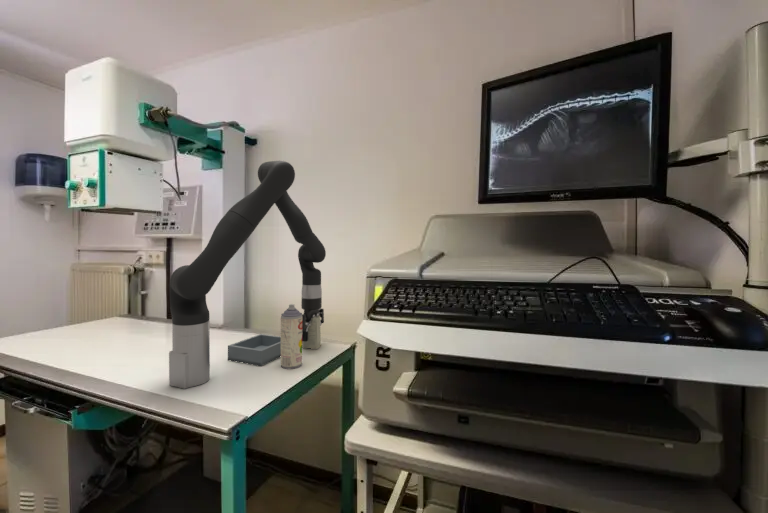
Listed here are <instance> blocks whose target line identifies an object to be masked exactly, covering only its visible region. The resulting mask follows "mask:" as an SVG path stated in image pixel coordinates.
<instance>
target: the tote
mask: <svg viewBox="0 0 768 513" xmlns="http://www.w3.org/2000/svg"><path fill="white" fill-rule="evenodd" d="M280 356H281V336H280V335H279V336H278V335H271V334H265V333H264V334H262V333H260V334H257V335H254V336H251V337H249V338H246V339H245V338H244V339H243V340H239V341H237V342H234V343H231V344H229V345H227V361H229V360H231V361H230V362H235V361H237V362H236V363H240V362H243V363H242V364H246V363H248V364H247V365H251V364H253V365H252V366H257V365H258V367H262V366H264V365H267V364H269V363H271V362H273V361H275V360H277V359H279V358H281V357H280ZM276 358H277V359H276Z"/></svg>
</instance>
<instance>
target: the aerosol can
mask: <svg viewBox="0 0 768 513" xmlns="http://www.w3.org/2000/svg"><path fill="white" fill-rule="evenodd" d="M302 314H303V313H302V312H300V311H299V309H297V308H296V307H295V304H293V303H290V304H289V305H288V308H286V310H284V312H283V313H281V314H280V315H281V316H280V337H281V357H280V368H281V369H284V370H285V369H286V370H293V369H298V368H301V367H302V366H303V349H302Z"/></svg>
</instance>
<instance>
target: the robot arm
mask: <svg viewBox="0 0 768 513" xmlns="http://www.w3.org/2000/svg"><path fill="white" fill-rule="evenodd" d="M257 177H258V178H257V179H258V181H259V183H260V184H259V185H258V186H257V187H256V188H255V189H254V190H253V191H251V193H248V194H247V195H246V196H245V197H243V198H242V199H240V200H239V201H238V202H236V203H235V204H234V205H233V206H231V207H230V208H229V210H228V211H227V212H226V213H225V214H224V215H223V217H222V218H221V219H220V220H219V222H218V223H217V225H216V226H215V228H214V230H213V232H212V235H211V236H210V239H209V241H208V243H207V245H206V246H205V247H204V249H203V251H201V253H200V254H198V256H197V257H196V258H195V259H194V260H193V261H192V262H191V263H190V264H189V265H187V264H186V265H182V266H180V267H177V268H176V269H175V270H174V271H173V272H172V273H171V276H170V278H169V310H170V315H171V323H172V328H171V329H172V331H171V332H172V346H171V347H172V350H170V351H169V353H168V374H169V376H168V382H169V383H168V384H169V386H172V387H175V388H181V389H183V390H184V389H188V388H192V387H196V386H200V385H203V384H205V383H207V382H209V380H210V374H211V373H210V372H211V370H210V369H211V366H210V364H211V362H210V359H211V358H210V357H211V356H210V352H211V351H210V350H211V349H210V348H211V347H210V344H211V343H210V342H211V340H210V338H211V337H210V327H211V326H210V311H209V308H208V304H207V295H208V294H209V292H210V291H211V290H212V288H213V286H215V283H216V282H217V280H218V279H219V277H220V275H221V273H222V272H223V270H224V269H225V267H226V266H227V264H228V263H229V261H231V259H232V258H233V257H234V256H235V255H236V254H237V252H238V251H239V250H240V249H241V248H242V246H243V245H244V243H245V242H246V241H247V240H248V239H249V237H250V236H251V235H252V234H253V232H254V231H255V230H256V228H257V227H258V225H259V224H260V223H261V221H263V219H264V218H265V216H266V215H267V214H268V213H269V211H270V210H271V208H272V207H273V206H274V205H275V206H276V207H277V210H279V212H280V214H281V215H282V217H283V219H284V220H285V222H286V224H287V226H288V228H289V231H290V233H291V235H292V237H293V239H294V240H295V242H296V243H298V244H301V245H300V247H299V249H298V250H297V257H298V258H297V259H298V262H299V267H300V270H301V273H302V275H301V276H302V280H301V284H302V286H301V304H300V306H301V309H302V310H303V313H302V341H305V342H306V341H308V329H309V327H310V326H311V324H312V321H313V318H314V317H315V316H319V315H320V327H321V326H322V325H323V324H324V323H325V316H324V315H325V312H324V310H325V309H324V308H322V304H323V303H322V298H323V297H322V295H323V294H322V293H323V292H322V271H321V270H320V269H319V268H317V267H315V265H314V263H315V264H316V263H317V264H318V263H319V264H320V263H322V262H323V261H324V260H325V258H326V253H327V252H326V248H325V246H324V244H323V243H322V241H321V240H320V239H319V238H318V237H317V235H316V234H315V233H314V232H313V230H312V228H311V225H310V223H309V220H308V219H307V217H306V215H305V214H304V212H303V211H302V210H301V209H300V208H299V206H298V205H297V204H296V203H295V201H294V200H293V199H292V198H291V196H290V194H289V193H288V190H289V189H290V187H292V186H293V184H294V182H295V179H296V178H295V177H296V172H295V169H294V166H293V165H292V164H291V163H290V162H287V161H284V160H270V161H265V162H263V163H261V164H260V166H259V167H258V170H257ZM305 322H308V323H305ZM305 326H306V328H305Z"/></svg>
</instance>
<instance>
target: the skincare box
mask: <svg viewBox="0 0 768 513" xmlns="http://www.w3.org/2000/svg"><path fill="white" fill-rule="evenodd" d="M320 319H321V317H320V315H319V316H315V317H314V318H313V321H312V324H311V326H310V327H309V329H308V341H306V342H305V341H302V348H311V349H310V350H319V348H320V347H321V346H322V344H321V343H322V342H321V339H322V338H321V334H322V333H321V326H320ZM305 323H308V322H305ZM305 328H306V326H305Z"/></svg>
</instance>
